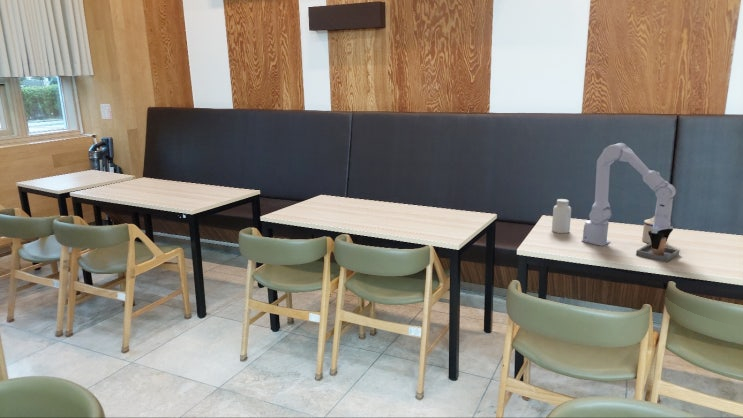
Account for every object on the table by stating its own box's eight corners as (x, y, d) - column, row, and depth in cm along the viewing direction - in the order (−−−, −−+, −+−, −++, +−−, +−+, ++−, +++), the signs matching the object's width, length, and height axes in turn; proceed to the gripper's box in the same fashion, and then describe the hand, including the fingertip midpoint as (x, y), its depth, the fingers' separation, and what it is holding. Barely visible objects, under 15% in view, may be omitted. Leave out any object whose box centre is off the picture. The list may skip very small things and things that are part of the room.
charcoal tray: (635, 255, 224) (636, 250, 224) (648, 248, 233) (649, 243, 232) (667, 262, 216) (667, 257, 215) (678, 254, 224) (679, 250, 224)
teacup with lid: (662, 246, 235) (666, 220, 232) (639, 242, 240) (642, 217, 237) (666, 239, 245) (670, 214, 242) (644, 235, 250) (647, 211, 247)
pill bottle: (550, 228, 262) (552, 198, 258) (567, 229, 261) (570, 198, 257) (553, 233, 254) (555, 201, 250) (571, 234, 253) (574, 202, 249)
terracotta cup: (649, 253, 224) (651, 237, 222) (653, 251, 227) (655, 234, 226) (661, 256, 221) (664, 240, 219) (665, 253, 224) (667, 237, 222)
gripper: (666, 219, 212) (662, 252, 216) (680, 213, 222) (675, 245, 225) (647, 216, 217) (643, 248, 221) (661, 210, 227) (657, 241, 230)
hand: (658, 246), depth 223 cm, fingers open, 7 cm apart
